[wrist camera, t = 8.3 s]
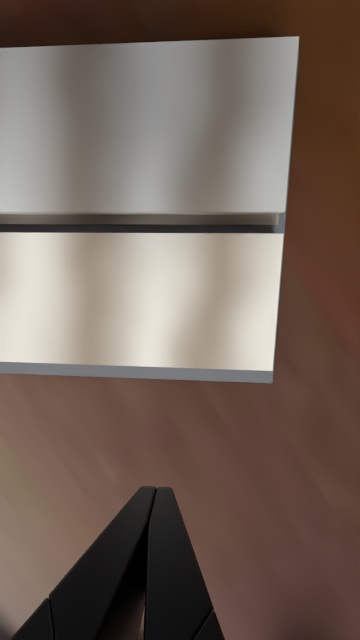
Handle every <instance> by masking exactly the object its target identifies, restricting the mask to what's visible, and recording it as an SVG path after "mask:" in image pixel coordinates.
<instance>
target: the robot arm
mask: <svg viewBox="0 0 360 640" xmlns="http://www.w3.org/2000/svg"><path fill="white" fill-rule="evenodd" d="M144 606H145V614H144V639H143V640H225V638H224V636H223V633H222V630H221V628H220V625H219V622H218V619H217V616H216V613H215V612H214V608H213V605H212V602H211V599H210V596H209V593H208V591H207V588H206V585H205V582H204V579H203V576H202V573H201V570H200V567H199V565H198V562H197V559H196V556H195V553H194V550H193V547H192V544H191V541H190V539H189V536H188V533H187V530H186V527H185V524H184V521H183V518H182V515H181V513H180V510H179V507H178V504H177V501H176V498H175V495H174V492H173V490H172V488H169V487H158V488H157V489H156V488H155V487H152V486H142V487H140V488H139V489H138V491H137V492H136V493H135V494H134V495H133V497H132V498H131V499H130V500H129V501H128V502H127V504H126V505H125V506H124V507H123V508H122V509H121V511H120V512H119V513H118V514H117V515H116V517H115V518H114V519H113V520H112V521H111V522H110V524H109V525H108V526H107V527H106V528H105V529H104V531H103V532H102V533H101V534H100V535H99V537H98V538H97V539H96V540H95V541H94V542H93V544H92V545H91V546H90V547H89V548H88V549H87V551H86V552H85V553H84V554H83V555H82V557H81V558H80V559H79V560H78V561H77V562H76V564H75V565H74V566H73V567H72V568H71V570H70V571H69V572H68V573H67V574H66V575H65V577H64V578H63V579H62V580H61V581H60V582H59V584H58V585H57V586H56V587H55V588H54V590H53V591H52V592H51V593H50V594H49V598H46V599H45V600H44V601H43V602H42V603H41V605H40V606H39V607H38V608H37V609H36V610H35V612H34V613H33V614H32V615H31V616H30V617H29V619H28V620H27V621H26V622H25V623H24V624H23V625H22V626H21V628H20V629H19V630H18V631H17V632H16V633H15V634H14V635H13V637H12V638H11V639H10V640H137V638H138V633H139V629H140V624H141V619H142V615H143V610H144Z"/></svg>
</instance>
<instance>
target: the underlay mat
mask: <svg viewBox="0 0 360 640" xmlns="http://www.w3.org/2000/svg"><path fill="white" fill-rule="evenodd" d="M298 58H299V50H298V56H297V69H296V81H295V94H294V107H293V119H292V132H291V144H290V157H289V169H288V182H287V195H288V183H289V170H290V158H291V145H292V133H293V121H294V108H295V96H296V83H297V71H298ZM287 195H286V207H285V212H283V213H281V214H279V221H278V225H276V226H215V225H0V232H20V233H260V234H284V233H285V220H286V208H287ZM283 245H284V236H283ZM282 258H283V248H282ZM281 270H282V260H281ZM280 283H281V273H280ZM279 295H280V285H279ZM278 307H279V298H278ZM277 320H278V310H277ZM276 332H277V322H276ZM275 345H276V335H275ZM274 357H275V347H274ZM273 370H274V359H273ZM0 373H13V374H40V375H67V376H94V377H121V378H148V379H175V380H202V381H230V382H257V383H272V382H273V371H259V370H230V369H201V368H172V367H143V366H113V365H84V364H55V363H26V362H0Z"/></svg>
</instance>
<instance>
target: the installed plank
mask: <svg viewBox="0 0 360 640" xmlns="http://www.w3.org/2000/svg"><path fill="white" fill-rule="evenodd" d="M298 44H299V36H298V37H272V38H247V39H221V40H195V41H169V42H144V43H118V44H92V45H66V46H41V47H15V48H0V225H215V226H276V225H278V221H279V214H281V213H283V212H285V207H286V195H287V182H288V169H289V157H290V144H291V132H292V119H293V107H294V94H295V81H296V69H297V56H298Z"/></svg>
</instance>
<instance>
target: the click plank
mask: <svg viewBox="0 0 360 640" xmlns="http://www.w3.org/2000/svg"><path fill="white" fill-rule="evenodd" d="M283 236H284V234H260V233H20V232H0V362H26V363H55V364H84V365H113V366H143V367H172V368H201V369H230V370H259V371H273V359H274V347H275V335H276V322H277V310H278V298H279V285H280V273H281V260H282V248H283Z"/></svg>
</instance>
